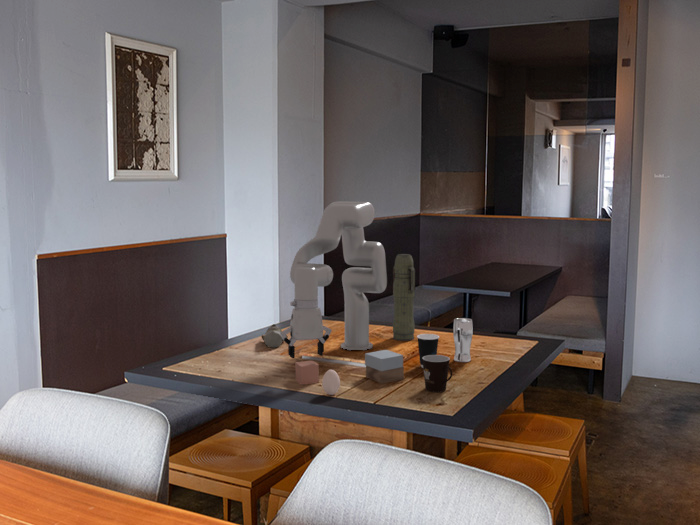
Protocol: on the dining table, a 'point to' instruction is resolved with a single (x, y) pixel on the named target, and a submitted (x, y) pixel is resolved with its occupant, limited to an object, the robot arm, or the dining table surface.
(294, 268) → the robot arm
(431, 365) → the coffee mug
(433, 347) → the dixie cup
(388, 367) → the slate block
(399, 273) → the thermos
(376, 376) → the walnut block
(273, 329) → the ceramic sculpture
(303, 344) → the dining table surface
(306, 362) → the rust cube
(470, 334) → the beer glass
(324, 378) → the egg
